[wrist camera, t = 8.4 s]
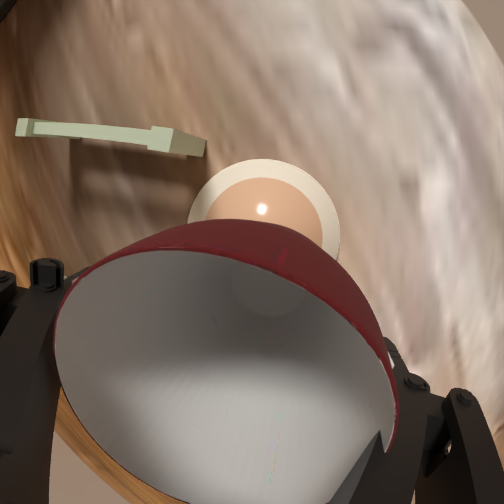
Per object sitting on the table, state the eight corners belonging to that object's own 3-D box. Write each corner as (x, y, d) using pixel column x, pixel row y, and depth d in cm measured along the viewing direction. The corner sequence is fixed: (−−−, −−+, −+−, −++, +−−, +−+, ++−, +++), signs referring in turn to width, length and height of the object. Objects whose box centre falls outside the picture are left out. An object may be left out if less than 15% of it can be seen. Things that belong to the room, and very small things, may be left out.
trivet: (179, 285, 29) (176, 289, 28) (205, 145, 25) (202, 144, 24) (314, 319, 28) (315, 324, 27) (355, 181, 24) (357, 181, 24)
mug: (207, 380, 17) (131, 512, 8) (133, 265, 16) (-9, 346, 7) (377, 314, 14) (430, 479, 5) (305, 165, 13) (282, 138, 4)
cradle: (58, 285, 31) (13, 312, 23) (71, 124, 26) (18, 118, 18) (174, 326, 30) (142, 371, 22) (206, 140, 25) (173, 128, 17)
